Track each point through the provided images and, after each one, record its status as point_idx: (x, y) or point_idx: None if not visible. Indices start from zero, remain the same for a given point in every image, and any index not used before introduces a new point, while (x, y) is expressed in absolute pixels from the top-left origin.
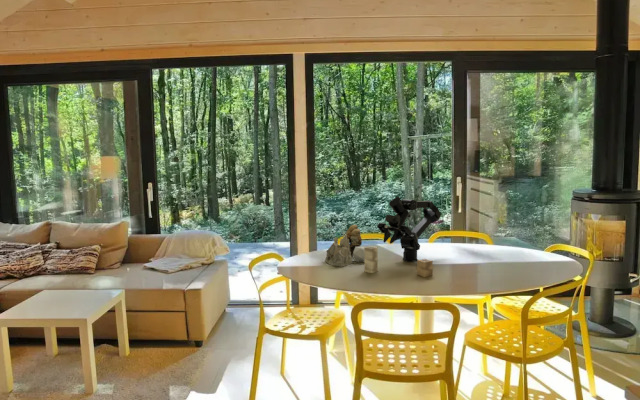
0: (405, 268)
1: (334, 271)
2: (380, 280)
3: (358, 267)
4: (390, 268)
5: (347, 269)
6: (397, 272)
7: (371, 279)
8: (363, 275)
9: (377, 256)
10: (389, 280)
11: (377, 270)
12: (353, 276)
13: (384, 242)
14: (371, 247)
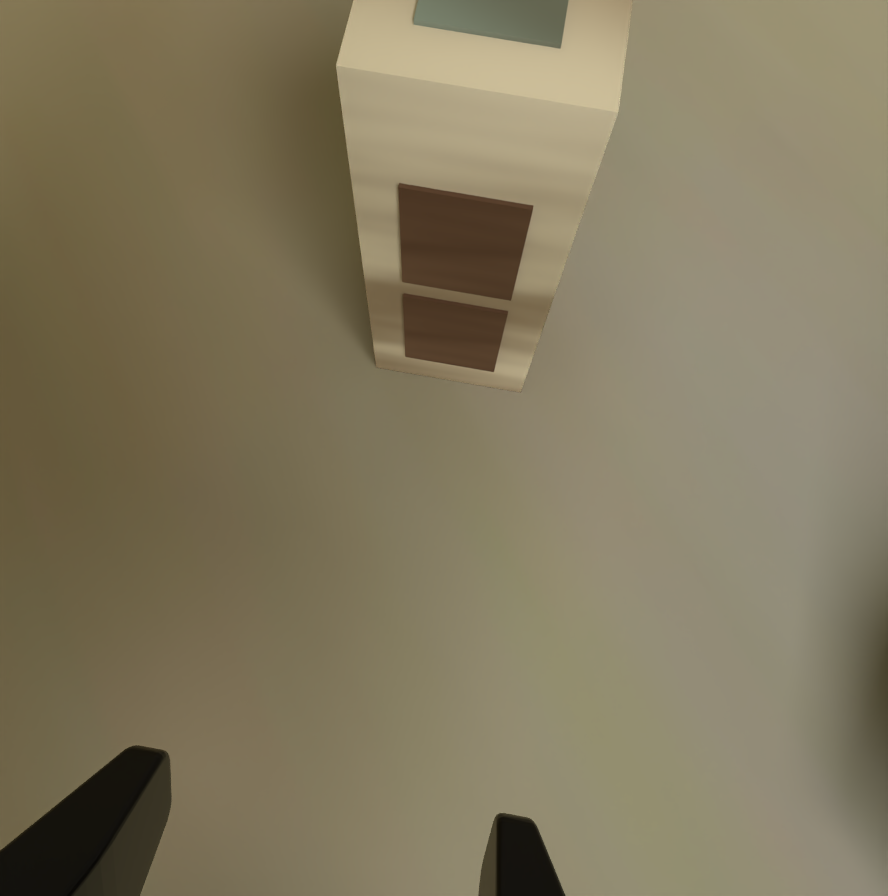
0: None
1: (871, 70)
2: (132, 18)
3: (765, 421)
4: (276, 666)
5: (812, 235)
6: (63, 483)
7: (253, 2)
8: None
9: (357, 225)
10: (25, 68)
11: (375, 359)
12: None
13: (486, 848)
14: None
